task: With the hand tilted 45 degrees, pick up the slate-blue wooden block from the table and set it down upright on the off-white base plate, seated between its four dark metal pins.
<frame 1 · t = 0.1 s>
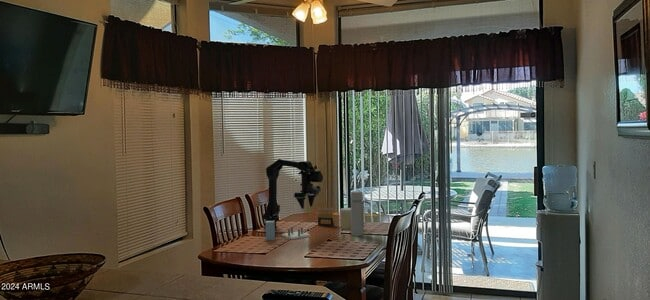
hand: (307, 207, 290), 15 cm above the table, tool pointing down, fingers open, 9 cm apart
base plate: (295, 236, 279), on the table
block: (270, 239, 273), on the table
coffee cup: (347, 228, 300), on the table
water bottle: (359, 235, 278), on the table
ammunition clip: (326, 225, 310), on the table
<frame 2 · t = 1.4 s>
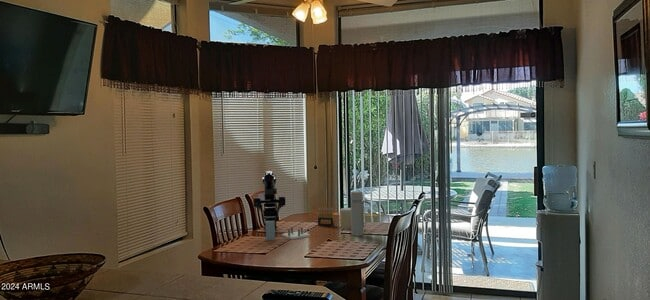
hand: (269, 213, 280), 13 cm above the table, tool tilted 45°, fingers open, 9 cm apart
nothing on the table moved.
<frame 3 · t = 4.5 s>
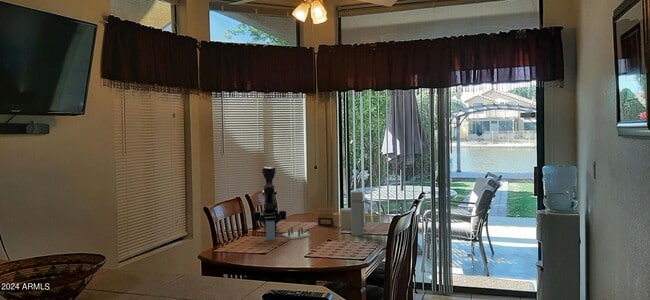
hand: (270, 227, 271), 7 cm above the table, tool tilted 45°, fingers closed on block, 5 cm apart
block: (270, 239, 273), on the table, touching gripper
everything else where it was.
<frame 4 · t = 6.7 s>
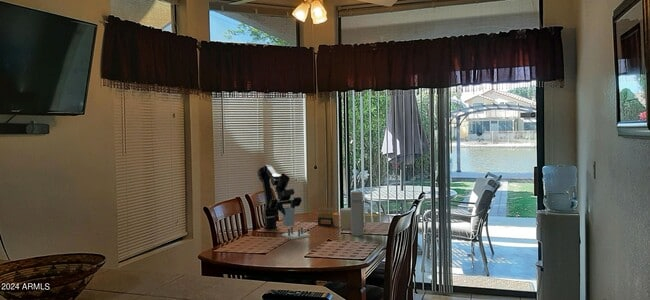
hand: (289, 214, 275), 13 cm above the table, tool tilted 45°, fingers closed on block, 5 cm apart
block: (288, 225, 276), point 7 cm above the table, touching gripper
everything else where it was.
when the fingers open (9 cm above the table, at t = 8.9 s): block drops 1 cm, resting on base plate.
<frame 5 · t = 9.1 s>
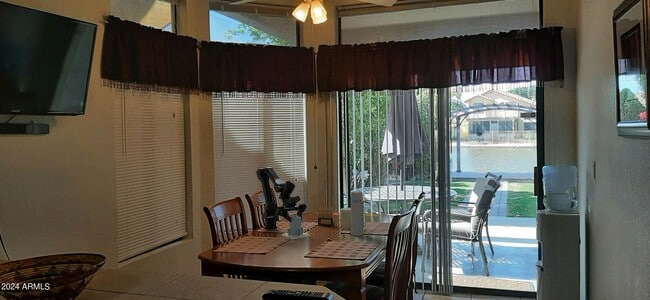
hand: (296, 221, 277), 9 cm above the table, tool tilted 45°, fingers open, 7 cm apart
block: (295, 234, 279), point 1 cm above the table, touching base plate
everything else where it was.
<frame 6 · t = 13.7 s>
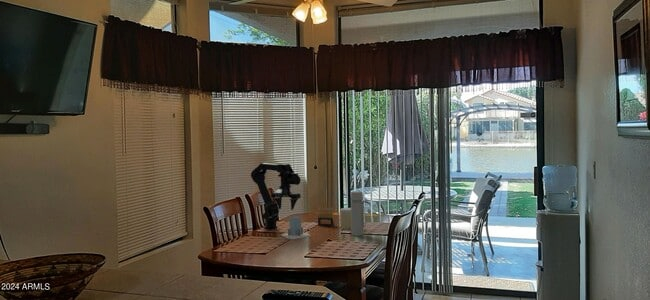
hand: (286, 209, 296), 13 cm above the table, tool pointing down, fingers open, 9 cm apart
nothing on the table moved.
at the end: block 0.0 cm off-centre on the base plate, point 1.2 cm above the base plate's base; block tilted 0°; the gripper is holding nothing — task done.
